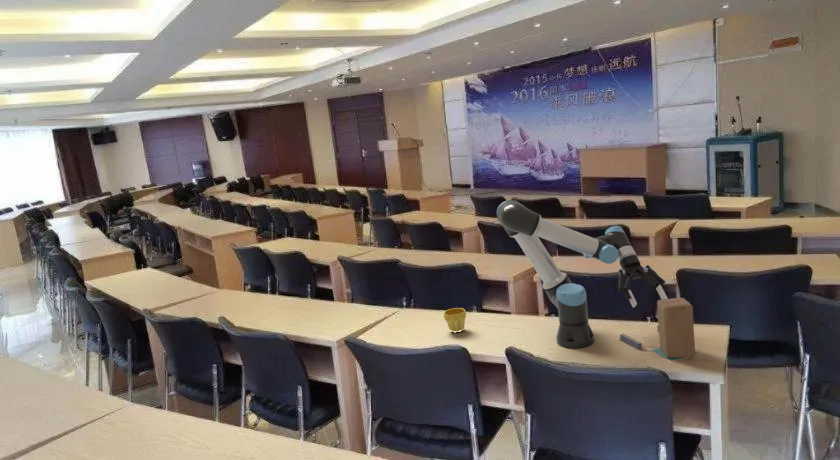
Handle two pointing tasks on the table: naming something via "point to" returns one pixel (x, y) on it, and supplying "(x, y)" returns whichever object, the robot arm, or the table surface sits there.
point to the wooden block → (676, 327)
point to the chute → (632, 340)
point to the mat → (665, 355)
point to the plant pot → (455, 318)
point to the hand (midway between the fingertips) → (650, 303)
